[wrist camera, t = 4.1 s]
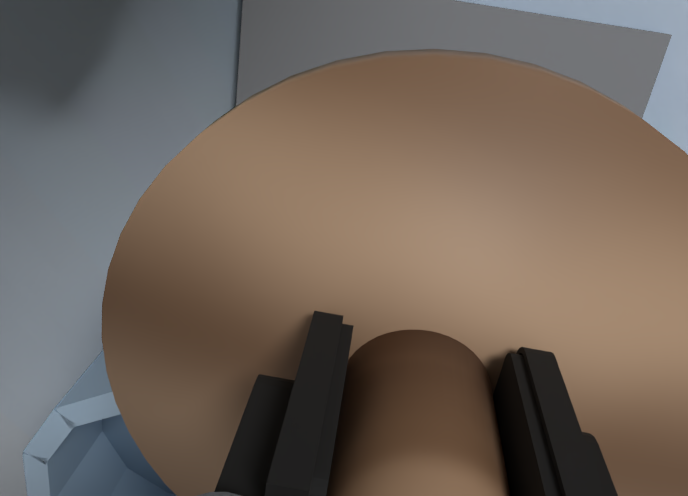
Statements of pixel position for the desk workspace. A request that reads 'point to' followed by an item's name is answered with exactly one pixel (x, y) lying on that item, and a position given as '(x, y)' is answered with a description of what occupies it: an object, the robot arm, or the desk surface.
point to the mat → (443, 41)
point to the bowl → (88, 447)
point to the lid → (410, 272)
